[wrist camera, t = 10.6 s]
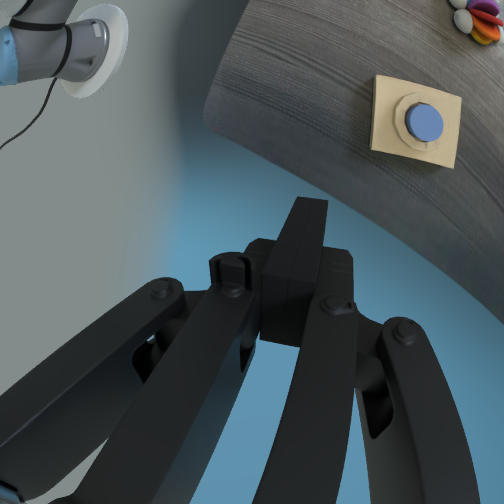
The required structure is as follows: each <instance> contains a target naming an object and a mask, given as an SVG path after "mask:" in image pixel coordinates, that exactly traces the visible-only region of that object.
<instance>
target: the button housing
mask: <svg viewBox="0 0 504 504" xmlns="http://www.w3.org/2000/svg"><path fill="white" fill-rule="evenodd" d="M423 104H424V105H430V106H432V107H434V108H435V109H436V110H437V111H438V112H439V113H440V115H441V117H442V120H443V132H442V134H441V136H440V137H439V138H438V139H436V140H434V141H430V142H428V141H424V140H421V139H419V138H417V137H415V136H414V135H413V134H412V133H411V132H410V131H409V129H408V127H407V124H406V115H407V113H408V111H409V109H410V108H411V107H413V106H415V105H423ZM460 112H461V98H460V97H458V96H455V95H452V94H449V93H446V92H443V91H440V90H437V89H434V88H430V87H427V86H423V85H420V84H416V83H412V82H408V81H404V80H400V79H396V78H391V77H386V76H381V75H376V76H375V77H374V88H373V108H372V122H371V134H370V144H369V147H370V148H371V149H372V150H376V151H382V152H387V153H392V154H396V155H401V156H405V157H410V158H414V159H418V160H422V161H426V162H430V163H434V164H438V165H441V166H445V167H448V168H452V169H453V168H454V162H455V156H456V149H457V142H458V133H459V124H460Z"/></svg>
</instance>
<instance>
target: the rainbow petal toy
mask: <svg viewBox="0 0 504 504" xmlns="http://www.w3.org/2000/svg"><path fill="white" fill-rule="evenodd" d="M449 1H450V2H451V4H452V5H453V6H454V7H455V8H457V9H458V10H457V11H456V12H455V13H454V22H455V24H456V26H457V27H458V28H459V29H460V30H461V31H462V32H464V33H466V34H468V33H471V35H472V36H473V38H474V39H475V40H476V41H478V42H479V43H480V44H484V45H487V44H490V43H492V44H493V45H496V46H500V45H502V44H504V31H503V29H502V28H501V27H500V26H503V22H502V21H501V20H499V19H498V18H499V13H500V10H499V7H498V6H497V4H496V3H495V2H494V1H492V0H449ZM469 12H470V13H469Z"/></svg>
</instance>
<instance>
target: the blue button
mask: <svg viewBox="0 0 504 504" xmlns="http://www.w3.org/2000/svg"><path fill="white" fill-rule="evenodd" d="M406 124H407V127H408V129H409V131H410V132H411V133H412V134H413V135H414V136H415V137H417V138H419V139H421V140H424V141H428V142H430V141H434V140H436V139H438V138H439V137H440V136H441V134H442V132H443V120H442V117H441V115H440V113H439V112H438V111H437V110H436V109H435V108H434V107H432V106H430V105H424V104H423V105H415V106H413V107H411V108H410V109H409V111H408V113H407V115H406Z"/></svg>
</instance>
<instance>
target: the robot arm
mask: <svg viewBox="0 0 504 504" xmlns="http://www.w3.org/2000/svg"><path fill="white" fill-rule="evenodd" d="M77 1H78V0H0V10H3V12H4V15H5V16H6V17H12V19H11V21H10V23H9V25H8V26H4V27H2V28H1V29H0V86H5V85H15V84H17V83H22V82H26V81H32V80H37V79H43V78H50V77H55V78H54V80H53V82H52V84H51V86H50V88H49V91H48V94H47V96H46V99H45V102H44V104H43V106H42V108H41V110H40V112H39V114H38V115H37V116H36V117H35V118H34V119H33V120H32V122H31V123H30V124H29V125H28V126H27V127H26V128H25V129H24V130H23V131H21V132H20V133H19V134H17V135H16V136H14V137H13V138H11V139H9V140H8V141H6V142H5V143H4V144H3V145H2V146H1V147H0V149H1V148H2V147H3V146H4V145H6V144H7V143H9V142H10V141H12V140H13V139H15V138H16V137H18V136H19V135H21V134H22V133H24V132H25V131H26V130H27V129H28V128H29V127H30V126H31V125H32V124H33V123H34V122H35V120H36V119H37V118H38V117H39V116H40V115H41V113H42V112H43V110H44V108H45V106H46V104H47V101H48V99H49V96H50V93H51V91H52V88H53V85H54V84H55V82H56V80H57V78H59V79H63V80H66V81H70V82H84V81H86V80H88V79H90V78H91V77H92V76H94V75H95V73H96V72H97V71H98V70H99V68H100V67H101V65H102V63H103V61H104V59H105V57H106V54H107V51H108V47H109V40H110V34H109V29H108V26H107V24H106V23H105V22H104V21H103V20H100V19H85V20H81V21H78V22H74V23H71V24H66V25H65V23H66V21H67V19H68V17H69V15H70V13H71V11H72V10H73V8H74V6H75V4H76V3H77ZM327 208H328V200H322V199H314V198H306V197H297V198H296V200H295V203H294V205H293V207H292V209H291V211H290V213H289V215H288V217H287V220H286V222H285V224H284V226H283V228H282V230H281V232H280V234H279V237H278V238H277V240H276V241H275V240H269V239H261V238H257V239H256V240H254V241H253V242H251V243H249V245H248V246H247V248H246V249H245V252H243V253H240V252H226V253H221V254H218V255H216V256H214V257H213V258H211V259H210V260H209V267H210V276H211V286H210V287H209V289H208V290H203V291H184V289H183V286H182V283H181V282H179V281H178V280H177V279H174V278H170V277H162V278H158V279H154V280H152V281H150V282H148V283H146V284H145V285H144V286H142V287H141V288H140V289H138V290H137V291H135V292H134V293H132V294H131V295H130V296H128V297H127V298H125V299H124V300H123V301H122V302H120V303H119V304H117V305H116V306H114V307H113V308H112V309H110V310H109V311H108V312H106V313H105V314H104V315H102V316H101V317H100V318H98V319H97V320H96V321H94V322H93V323H92V324H90V325H89V326H88V327H86V328H85V329H84V330H82V331H81V332H80V333H78V334H77V335H76V336H74V337H73V338H72V339H70V340H69V341H68V342H66V343H65V344H64V345H63V346H61V347H60V348H59V349H58V350H56V351H55V352H54V353H52V354H51V355H50V356H49V357H47V358H46V359H45V360H43V361H42V362H41V363H40V364H39V365H37V366H36V367H35V368H34V369H33V370H31V371H30V372H29V373H27V374H26V375H25V376H24V377H22V378H21V379H20V380H19V381H18V382H16V383H15V384H14V385H13V386H12V387H10V388H9V389H8V390H7V391H6V392H4V393H3V394H2V395H1V396H0V504H26V502H25V501H28V500H31V499H34V498H37V497H38V496H41V495H43V494H44V493H46V492H47V491H49V490H50V489H51V488H53V487H54V486H55V485H56V484H57V483H59V482H60V481H61V480H62V479H63V478H64V477H65V476H66V475H68V474H69V473H70V472H71V471H72V470H73V469H75V468H76V467H77V466H78V465H79V464H80V463H81V462H82V461H83V460H85V459H86V458H87V457H88V456H89V455H90V454H91V453H92V452H93V451H94V450H95V449H97V448H98V447H99V446H100V445H101V444H102V443H103V442H104V441H105V440H106V439H107V438H109V439H108V440H107V442H106V443H105V445H104V446H103V448H102V450H101V451H100V453H99V454H98V456H97V457H96V459H95V460H94V462H93V464H92V465H91V467H90V469H89V470H88V472H87V473H86V475H85V477H84V478H83V480H82V481H81V483H80V484H79V486H78V488H77V489H76V490H75V491H74V493H72V494H71V495H69V496H66V497H62V498H58V499H55V500H53V501H52V502H50V503H48V504H189V503H190V501H191V499H192V497H193V495H194V493H195V491H196V489H197V487H198V484H199V482H200V480H201V478H202V476H203V474H204V472H205V469H206V467H207V465H208V463H209V461H210V458H211V456H212V454H213V452H214V449H215V447H216V445H217V443H218V440H219V438H220V436H221V434H222V431H223V429H224V426H225V424H226V422H227V419H228V417H229V415H230V412H231V410H232V408H233V405H234V403H235V401H236V398H237V396H238V393H239V391H240V388H241V386H242V383H243V381H244V378H245V376H246V373H247V371H248V368H249V366H250V363H251V361H252V358H253V356H254V353H255V347H256V338H257V336H258V333H259V331H260V340H264V341H268V342H274V343H278V344H283V345H289V346H294V347H300V350H299V354H298V358H297V362H296V366H295V370H294V374H293V378H292V381H291V385H290V389H289V392H288V396H287V399H286V403H285V407H284V410H283V413H282V417H281V420H280V424H279V427H278V430H277V433H276V437H275V439H274V443H273V446H272V449H271V452H270V455H269V458H268V461H267V463H266V466H265V469H264V472H263V475H262V478H261V480H260V483H259V486H258V489H257V491H256V494H255V496H254V499H253V502H252V504H336V500H337V496H338V491H339V487H340V482H341V478H342V472H343V468H344V462H345V457H346V451H347V444H348V438H349V431H350V423H351V416H352V407H353V397H354V388H355V392H356V398H357V403H358V409H359V415H360V421H361V427H362V433H363V440H364V447H365V454H366V461H367V470H368V479H369V489H370V500H371V504H480V497H479V492H478V486H477V480H476V475H475V471H474V467H473V462H472V458H471V454H470V450H469V446H468V443H467V439H466V436H465V432H464V429H463V426H462V423H461V419H460V416H459V413H458V411H457V408H456V405H455V402H454V400H453V397H452V394H451V391H450V389H449V386H448V383H447V381H446V379H445V376H444V374H443V371H442V369H441V366H440V364H439V362H438V359H437V357H436V355H435V353H434V351H433V348H432V346H431V344H430V342H429V340H428V338H427V336H426V333H425V331H424V330H423V329H422V327H421V326H420V325H419V324H417V323H416V322H415V321H413V320H411V319H408V318H406V317H393V318H390V319H388V320H387V321H386V322H385V323H384V324H383V325H382V324H380V323H377V322H375V321H372V320H370V319H368V318H366V317H365V316H364V315H362V314H361V313H360V312H359V311H358V309H357V306H356V303H355V302H354V298H353V297H354V280H353V258H352V256H351V254H350V253H349V252H348V250H344V249H337V248H330V247H324V246H323V240H324V233H325V225H326V217H327ZM152 335H153V336H154V338H153V339H151V340H150V341H147V339H149V338H150V337H151V336H152Z"/></svg>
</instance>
